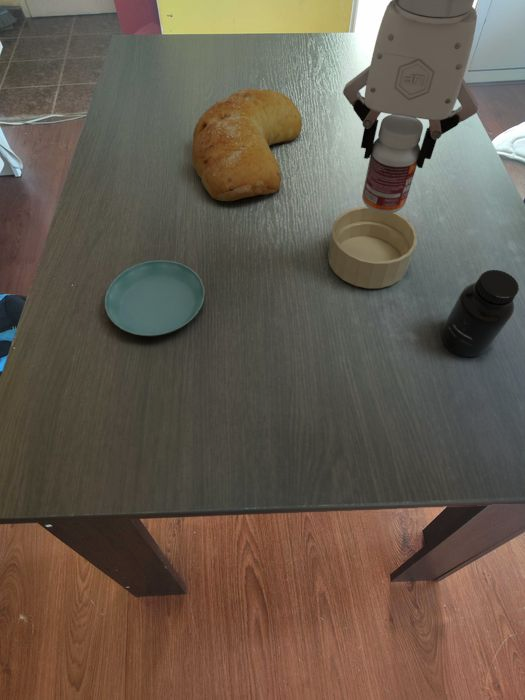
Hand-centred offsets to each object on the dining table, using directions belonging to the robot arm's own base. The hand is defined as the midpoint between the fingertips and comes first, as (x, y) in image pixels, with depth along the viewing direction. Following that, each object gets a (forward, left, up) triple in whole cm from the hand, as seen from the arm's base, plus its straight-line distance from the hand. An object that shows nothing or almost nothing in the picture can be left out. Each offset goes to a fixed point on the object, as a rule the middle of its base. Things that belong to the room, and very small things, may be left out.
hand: (394, 156), depth 61 cm
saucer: (+29, +19, -19) cm, 40 cm away
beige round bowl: (0, 0, -19) cm, 19 cm away
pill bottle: (0, 0, -7) cm, 7 cm away
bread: (+29, -22, -19) cm, 42 cm away
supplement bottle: (-16, +11, -19) cm, 28 cm away
